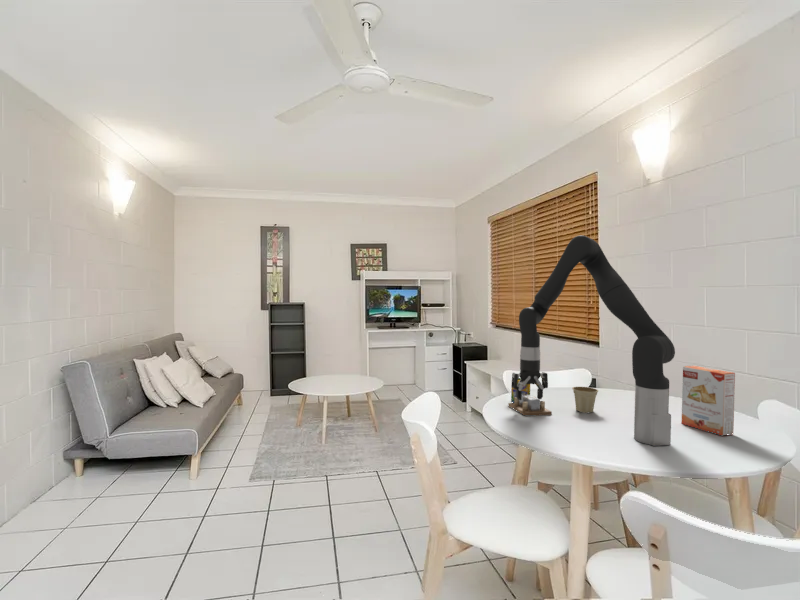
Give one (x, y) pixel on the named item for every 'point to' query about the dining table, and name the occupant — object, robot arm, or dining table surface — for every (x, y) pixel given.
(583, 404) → the flower pot
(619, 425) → the dining table surface
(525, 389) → the crayon box
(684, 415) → the cracker box
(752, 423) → the dining table surface
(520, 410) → the rack
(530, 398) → the translucent grey block
